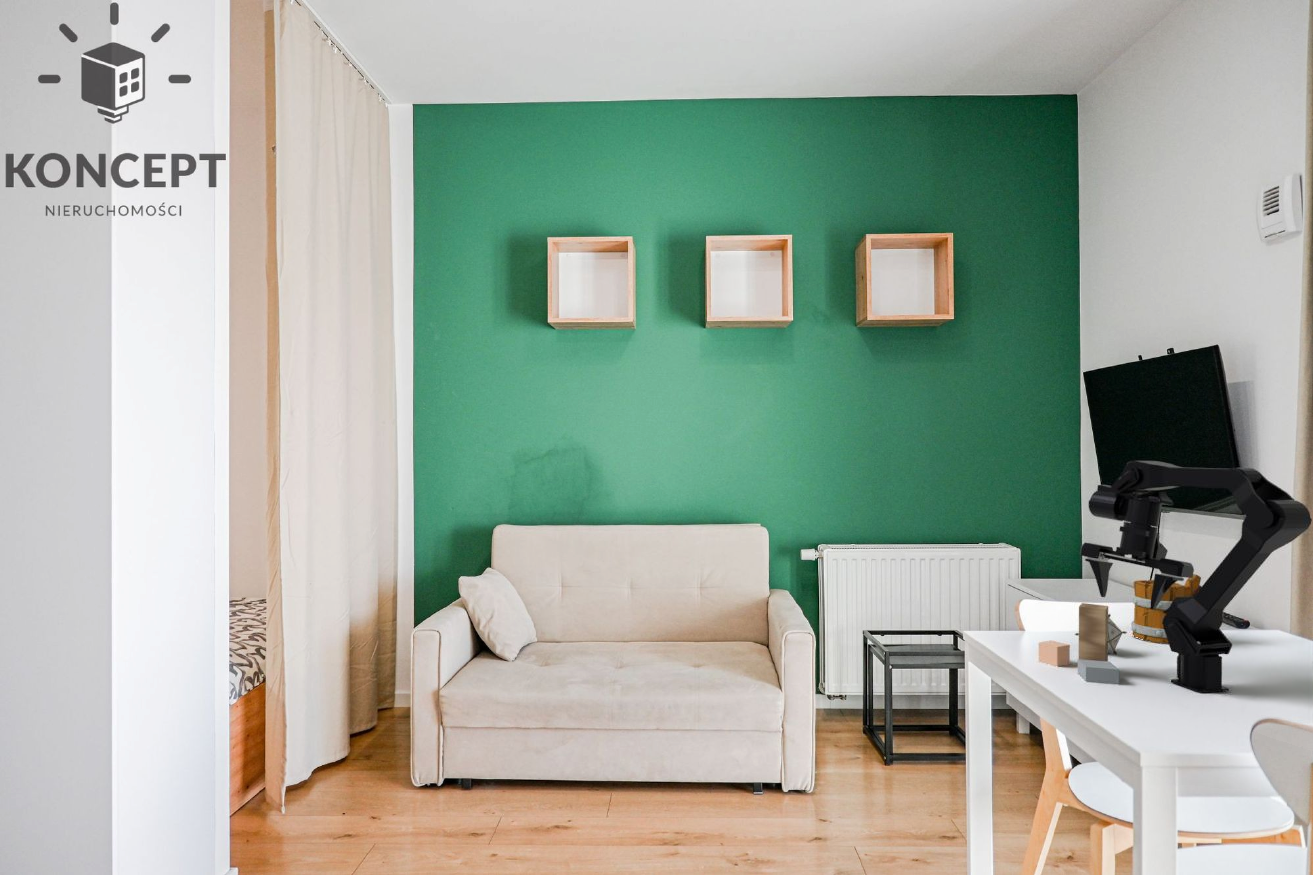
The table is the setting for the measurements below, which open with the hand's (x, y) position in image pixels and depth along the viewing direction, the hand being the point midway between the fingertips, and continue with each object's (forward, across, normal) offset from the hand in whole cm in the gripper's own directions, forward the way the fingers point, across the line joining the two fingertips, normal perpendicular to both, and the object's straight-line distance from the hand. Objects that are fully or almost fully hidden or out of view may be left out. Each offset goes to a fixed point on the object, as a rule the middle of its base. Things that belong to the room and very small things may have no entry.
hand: (1127, 603), depth 154 cm
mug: (+9, +6, -38) cm, 39 cm away
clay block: (+15, +9, +6) cm, 18 cm away
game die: (+13, +8, -11) cm, 19 cm away
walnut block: (+14, +2, +5) cm, 15 cm away
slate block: (+14, -1, +10) cm, 18 cm away
